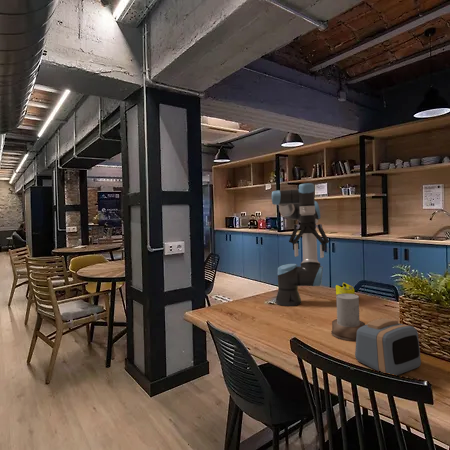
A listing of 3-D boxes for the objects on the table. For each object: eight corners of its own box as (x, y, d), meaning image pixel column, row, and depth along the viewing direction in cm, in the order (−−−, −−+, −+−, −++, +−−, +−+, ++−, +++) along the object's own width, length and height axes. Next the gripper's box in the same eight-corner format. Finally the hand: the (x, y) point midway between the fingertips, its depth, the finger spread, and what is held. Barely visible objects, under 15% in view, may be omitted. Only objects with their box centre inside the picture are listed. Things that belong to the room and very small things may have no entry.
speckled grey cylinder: (356, 319, 151) (355, 293, 150) (362, 327, 141) (361, 298, 141) (334, 319, 152) (333, 293, 151) (340, 327, 142) (339, 299, 142)
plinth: (326, 336, 146) (326, 325, 145) (337, 326, 157) (337, 316, 157) (361, 343, 136) (360, 331, 136) (370, 332, 148) (370, 321, 148)
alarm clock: (391, 380, 107) (390, 332, 107) (352, 360, 122) (351, 318, 121) (423, 368, 114) (422, 323, 113) (383, 351, 129) (382, 311, 128)
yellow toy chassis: (355, 301, 198) (355, 287, 197) (346, 301, 197) (346, 288, 197) (343, 294, 214) (343, 281, 213) (335, 295, 213) (334, 282, 213)
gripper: (281, 215, 169) (283, 256, 169) (329, 214, 153) (330, 259, 154) (288, 215, 174) (289, 254, 175) (334, 213, 159) (336, 257, 160)
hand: (309, 257), depth 165 cm, fingers open, 13 cm apart
